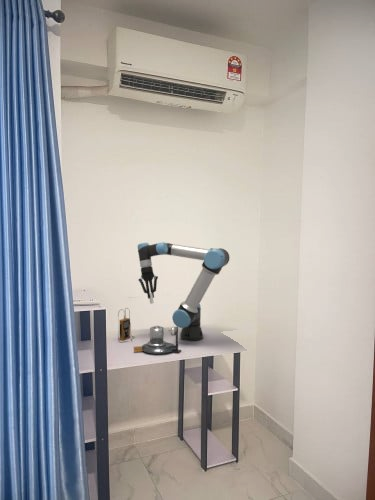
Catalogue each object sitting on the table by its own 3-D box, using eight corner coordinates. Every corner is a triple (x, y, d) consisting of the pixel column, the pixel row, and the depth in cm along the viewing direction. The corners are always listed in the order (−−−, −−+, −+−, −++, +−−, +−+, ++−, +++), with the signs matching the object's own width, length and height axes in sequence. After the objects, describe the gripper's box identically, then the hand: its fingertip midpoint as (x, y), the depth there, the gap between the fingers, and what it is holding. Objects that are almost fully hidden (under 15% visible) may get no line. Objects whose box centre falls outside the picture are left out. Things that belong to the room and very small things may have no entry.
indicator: (181, 351, 213) (181, 326, 212) (178, 353, 208) (178, 328, 208) (169, 349, 215) (170, 325, 215) (166, 352, 210) (166, 327, 210)
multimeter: (127, 344, 226) (127, 311, 226) (115, 341, 232) (115, 310, 231) (142, 338, 239) (142, 308, 238) (130, 336, 244) (130, 306, 244)
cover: (163, 341, 226) (163, 323, 226) (168, 346, 216) (168, 327, 215) (145, 342, 223) (145, 324, 222) (149, 347, 212) (149, 329, 212)
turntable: (170, 343, 227) (170, 339, 227) (179, 352, 209) (179, 348, 208) (131, 346, 220) (131, 342, 220) (137, 356, 201) (137, 352, 201)
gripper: (154, 266, 242) (159, 301, 240) (135, 268, 237) (140, 305, 235) (157, 265, 235) (163, 301, 233) (138, 267, 230) (143, 305, 228)
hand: (151, 303), depth 234 cm, fingers closed
